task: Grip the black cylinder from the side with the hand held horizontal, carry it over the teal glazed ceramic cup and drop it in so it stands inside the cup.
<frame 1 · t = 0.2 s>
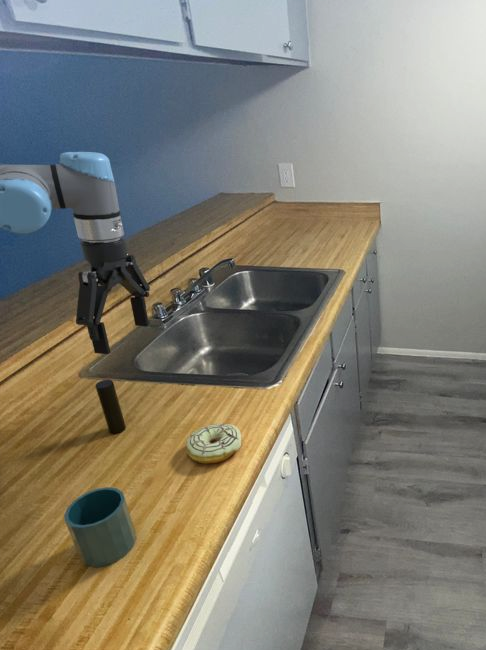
hand: (123, 338, 99), 20 cm above the worktop, tool pointing down, fingers open, 13 cm apart
black cylinder: (117, 429, 104), on the worktop
cup: (109, 545, 78), on the worktop
decorated donut: (216, 450, 99), on the worktop
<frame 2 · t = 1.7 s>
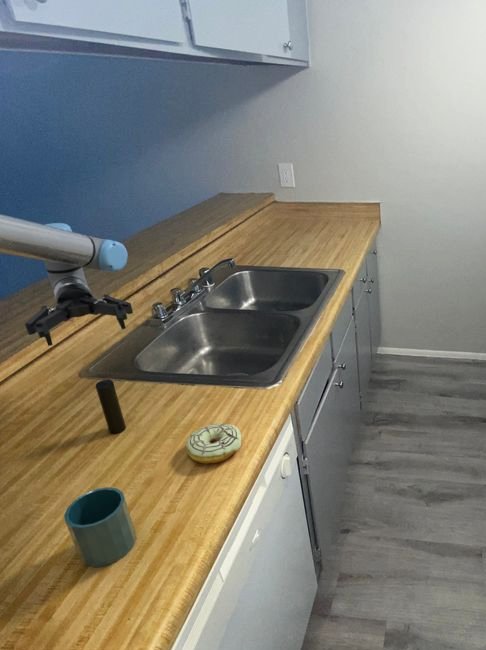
hand: (86, 331, 101), 20 cm above the worktop, tool horizontal, fingers open, 13 cm apart
nothing on the worktop moved.
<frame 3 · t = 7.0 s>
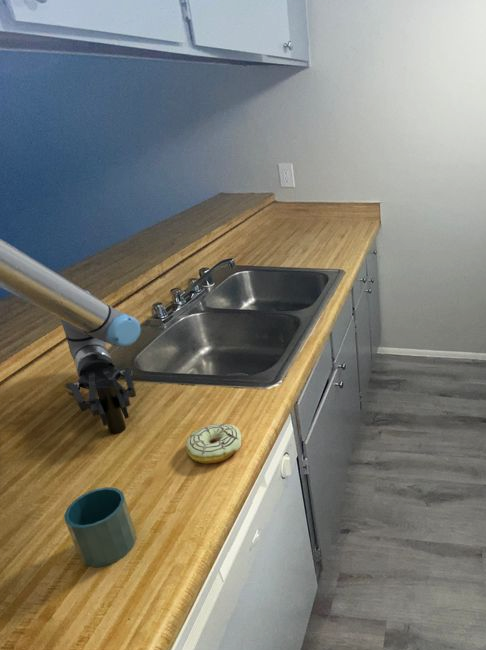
hand: (115, 416, 97), 7 cm above the worktop, tool horizontal, fingers closed on black cylinder, 3 cm apart
black cylinder: (117, 429, 104), on the worktop, touching gripper
everything else where it was.
when the fingers open (14 cm above the worktop, at t = 15.6 s): black cylinder drops 6 cm, resting on cup.
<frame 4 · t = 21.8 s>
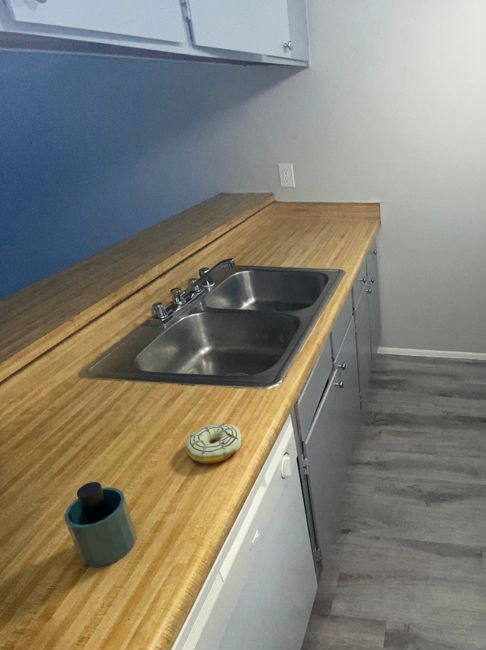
black cylinder: (108, 543, 78), point 1 cm above the worktop, touching cup
everything else where it was.
at the end: black cylinder 0.0 cm off-centre in the cup, point 0.6 cm above the cup's base; the gripper is holding nothing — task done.
